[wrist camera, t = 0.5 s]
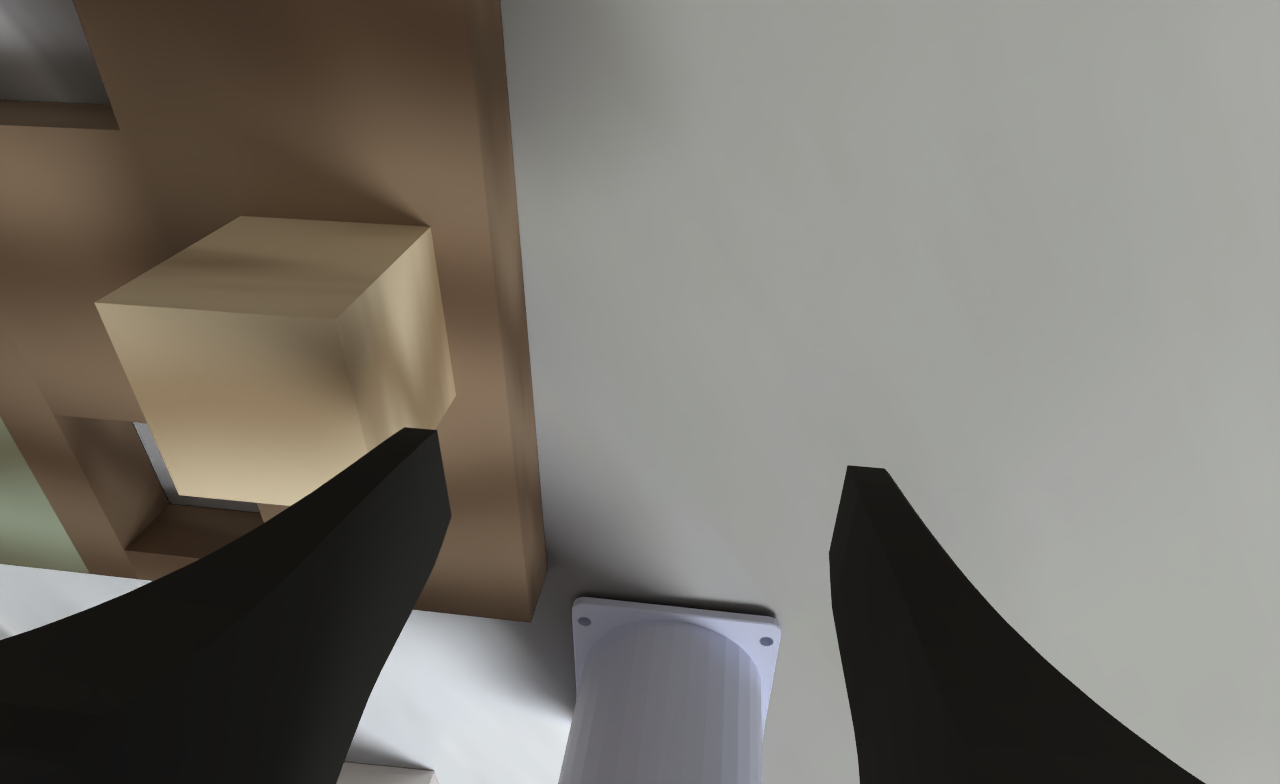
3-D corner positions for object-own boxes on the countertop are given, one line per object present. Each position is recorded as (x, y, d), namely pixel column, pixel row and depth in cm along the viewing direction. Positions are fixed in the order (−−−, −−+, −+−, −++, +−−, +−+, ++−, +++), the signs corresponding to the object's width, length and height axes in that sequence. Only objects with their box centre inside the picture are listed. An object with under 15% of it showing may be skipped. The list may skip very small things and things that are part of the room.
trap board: (547, 570, 28) (530, 622, 26) (-21, 511, 30) (-77, 555, 28) (478, -263, 15) (433, -293, 13) (-514, -253, 17) (-688, -276, 15)
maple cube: (456, 395, 21) (382, 515, 17) (290, 382, 21) (178, 495, 17) (430, 226, 18) (335, 320, 14) (240, 215, 19) (94, 302, 14)
